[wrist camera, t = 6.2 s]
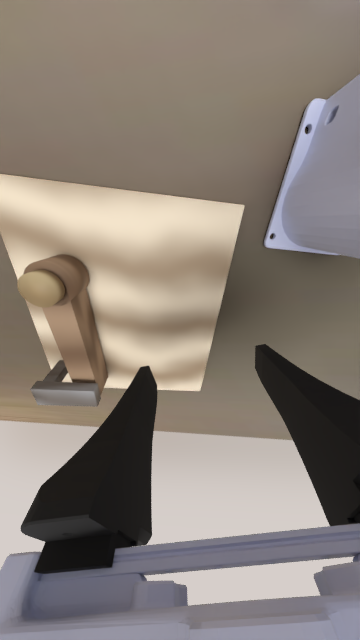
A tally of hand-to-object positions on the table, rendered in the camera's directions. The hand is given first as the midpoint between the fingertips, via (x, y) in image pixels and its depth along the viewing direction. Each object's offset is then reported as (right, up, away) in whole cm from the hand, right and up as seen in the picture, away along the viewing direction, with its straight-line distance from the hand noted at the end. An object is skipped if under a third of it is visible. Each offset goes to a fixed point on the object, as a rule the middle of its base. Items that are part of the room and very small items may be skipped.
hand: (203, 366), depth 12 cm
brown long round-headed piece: (-12, +2, +7) cm, 14 cm away
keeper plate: (-7, +4, +8) cm, 12 cm away
